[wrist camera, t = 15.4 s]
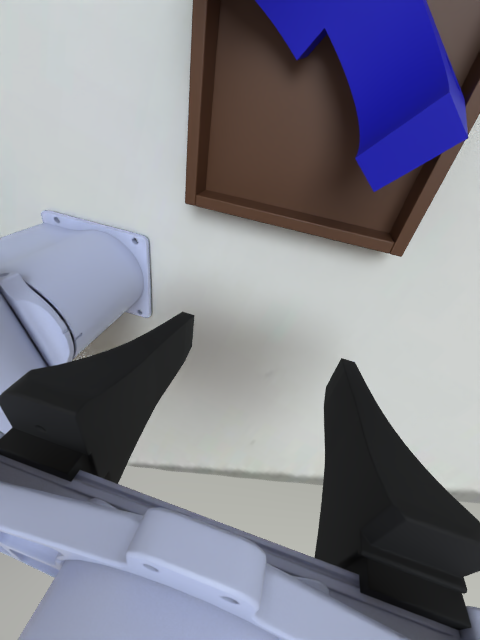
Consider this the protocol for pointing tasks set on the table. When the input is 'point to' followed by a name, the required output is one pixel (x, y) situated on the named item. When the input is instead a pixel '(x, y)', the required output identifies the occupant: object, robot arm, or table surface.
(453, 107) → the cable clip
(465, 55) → the tray
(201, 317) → the table surface
